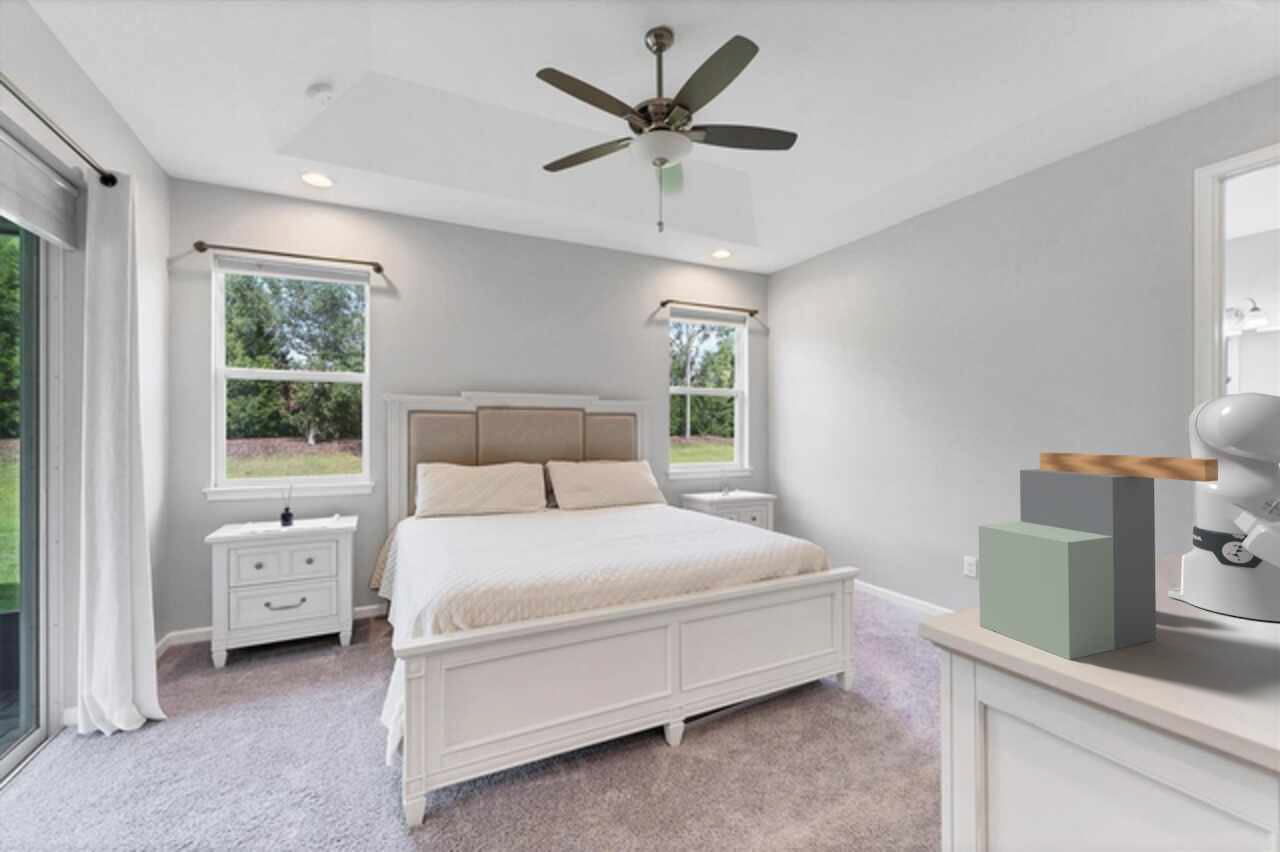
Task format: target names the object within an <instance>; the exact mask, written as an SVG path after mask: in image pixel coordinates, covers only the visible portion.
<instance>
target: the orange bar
mask: <svg viewBox="0 0 1280 852" xmlns="http://www.w3.org/2000/svg"><path fill="white" fill-rule="evenodd" d="M1039 469H1040V470H1049V471H1063V472H1077V473H1091V474H1105V475H1119V476H1133V477H1147V478H1154V479H1161V480H1162V479H1163V480H1174V481H1176V480H1178V481H1190V482H1191V481H1192V482H1195V481H1202V482H1208V481H1218V459H1203V458H1192V457H1177V456H1176V457H1175V456H1152V455H1151V456H1150V455H1149V456H1147V455H1127V454H1107V453H1106V454H1105V453H1104V454H1103V453H1083V452H1082V453H1079V452H1076V453H1075V452H1056V451H1055V452H1050V451H1049V452H1048V451H1047V452H1039Z"/></svg>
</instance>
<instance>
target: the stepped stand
mask: <svg viewBox="0 0 1280 852" xmlns="http://www.w3.org/2000/svg"><path fill="white" fill-rule="evenodd" d="M1019 482H1020V483H1019V486H1020V487H1019V488H1020V489H1019V491H1020V493H1019V495H1020V496H1019V497H1020V498H1019V500H1020V501H1019V502H1020V503H1019V504H1020V511H1019V512H1020V521H1013V522H1003V523H1001V522H1000V523H995V524H994V523H992V524H982V525H978V565H979V566H978V571H979V574H978V575H979V577H978V578H979V579H978V584H979V585H978V586H979V592H978V593H979V627H981V628H984V627H985V628H984V629H986V628H987V630H989V629H990V630H989V631H992V630H993V631H992V632H994V631H996V632H995V633H997V632H998V633H997V634H1000V635H1002V634H1003V636H1005V635H1006V637H1008V638H1010V639H1014V640H1016V641H1018V642H1021V643H1024V644H1026V645H1028V646H1029V645H1030V646H1032V647H1034V648H1036V649H1040V650H1043V651H1045V652H1048V653H1051V654H1054V655H1055V656H1059V657H1060V658H1064V659H1067V660H1074V659H1078V658H1082V657H1087V656H1090V655H1096V654H1100V653H1104V652H1111V651H1113V650H1117V649H1122V648H1127V647H1130V646H1135V645H1138V644H1143V643H1148V642H1153V641H1156V640H1157V612H1156V609H1157V605H1156V601H1157V600H1156V596H1157V595H1156V590H1157V589H1156V527H1155V526H1156V523H1155V521H1156V519H1155V518H1156V517H1155V478H1147V477H1133V476H1119V475H1105V474H1091V473H1077V472H1063V471H1049V470H1040V468H1037V469H1036V468H1035V469H1020V470H1019Z"/></svg>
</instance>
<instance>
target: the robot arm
mask: <svg viewBox="0 0 1280 852" xmlns="http://www.w3.org/2000/svg"><path fill="white" fill-rule="evenodd" d="M1188 433H1189V445H1190V454H1191V455H1190V456H1191V458H1203V459H1218V481H1208V482H1202V481H1194V485H1195V525H1194V526H1193V527H1192V533H1191V538H1192V545H1193V546H1194V547H1193V548H1192V549H1191V550H1190V551H1188V552H1186V553H1185V554H1183V555H1182V556H1181V572H1180V573H1181V575H1180V576H1181V578H1180V581H1181V582H1180V586H1178V587H1175V588H1173V589H1169V590H1168V592H1167V596H1168V597H1169V598H1172V599H1173V598H1174V599H1177V600H1179V601H1184V602H1185V603H1187V604H1190V605H1192V606H1195V607H1197V608H1202V609H1204V610H1208V611H1212V612H1215V613H1219V614H1225V615H1230V616H1235V617H1240V618H1241V617H1242V618H1245V619H1252V620H1262V621H1267V622H1269V621H1270V622H1271V621H1272V622H1280V396H1279V395H1272V394H1265V393H1261V392H1243V393H1233V394H1227V395H1219V396H1215V397H1211V398H1208V399H1207V400H1205V401H1203V402H1201V403H1200V404H1198V405H1197V406H1196V407H1195V408H1194V409H1193V410H1192V411H1191V413H1190V415H1189V419H1188Z"/></svg>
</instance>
